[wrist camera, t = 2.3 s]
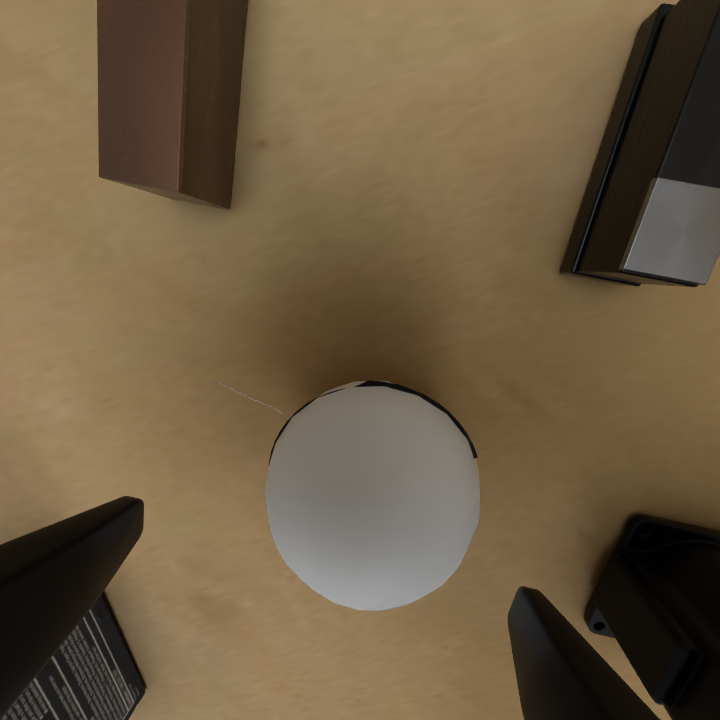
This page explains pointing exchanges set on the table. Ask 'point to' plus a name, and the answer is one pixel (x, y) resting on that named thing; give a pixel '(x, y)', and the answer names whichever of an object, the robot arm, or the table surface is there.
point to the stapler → (658, 160)
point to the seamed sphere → (372, 494)
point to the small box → (84, 676)
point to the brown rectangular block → (170, 95)
